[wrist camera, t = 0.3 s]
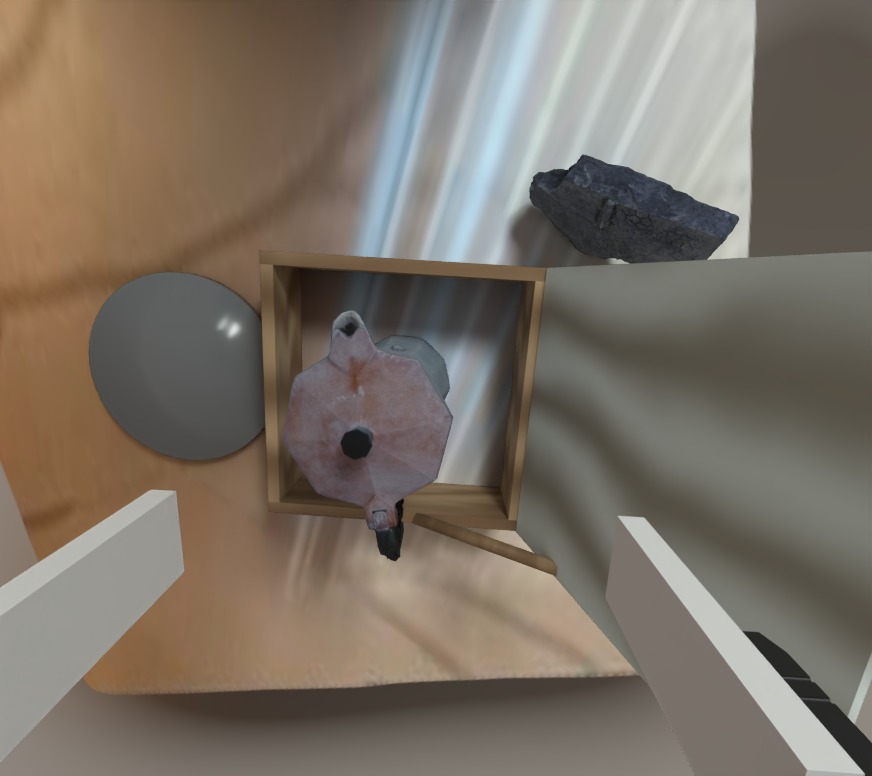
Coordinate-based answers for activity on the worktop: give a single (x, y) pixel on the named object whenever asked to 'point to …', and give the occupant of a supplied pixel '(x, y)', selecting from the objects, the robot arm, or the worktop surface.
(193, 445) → the disc
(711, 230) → the stone
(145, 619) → the worktop surface
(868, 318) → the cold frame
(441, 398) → the moka pot
